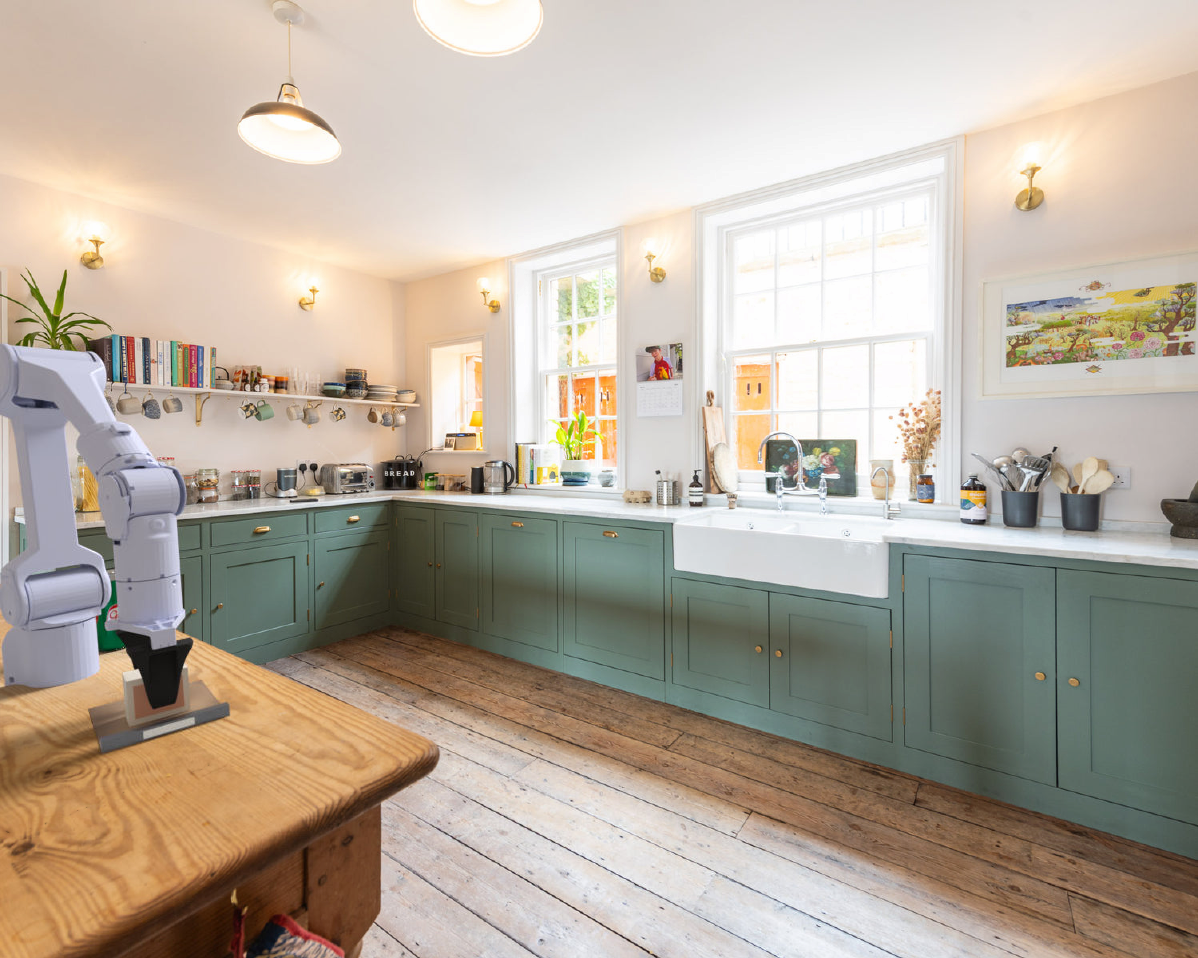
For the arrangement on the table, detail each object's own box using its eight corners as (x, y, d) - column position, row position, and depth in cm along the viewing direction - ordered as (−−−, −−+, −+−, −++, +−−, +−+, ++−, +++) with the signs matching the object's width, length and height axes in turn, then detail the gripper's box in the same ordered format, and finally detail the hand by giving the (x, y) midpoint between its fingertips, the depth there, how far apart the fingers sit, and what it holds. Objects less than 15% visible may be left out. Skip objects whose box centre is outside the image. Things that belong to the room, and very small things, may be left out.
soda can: (112, 653, 90) (106, 576, 89) (85, 651, 91) (79, 575, 90) (144, 642, 95) (138, 568, 94) (118, 640, 96) (112, 567, 95)
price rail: (101, 753, 58) (101, 741, 58) (100, 749, 59) (99, 737, 59) (230, 715, 66) (229, 704, 66) (227, 712, 67) (226, 701, 67)
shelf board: (103, 767, 58) (101, 753, 58) (89, 721, 68) (88, 708, 68) (230, 727, 66) (229, 714, 66) (201, 691, 76) (201, 679, 76)
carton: (129, 727, 64) (126, 682, 63) (125, 716, 66) (122, 672, 66) (190, 710, 67) (187, 667, 67) (184, 700, 70) (181, 659, 70)
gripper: (95, 572, 68) (104, 687, 69) (110, 595, 58) (120, 729, 59) (169, 562, 73) (177, 669, 74) (195, 581, 63) (204, 705, 64)
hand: (157, 694), depth 67 cm, fingers open, 7 cm apart
